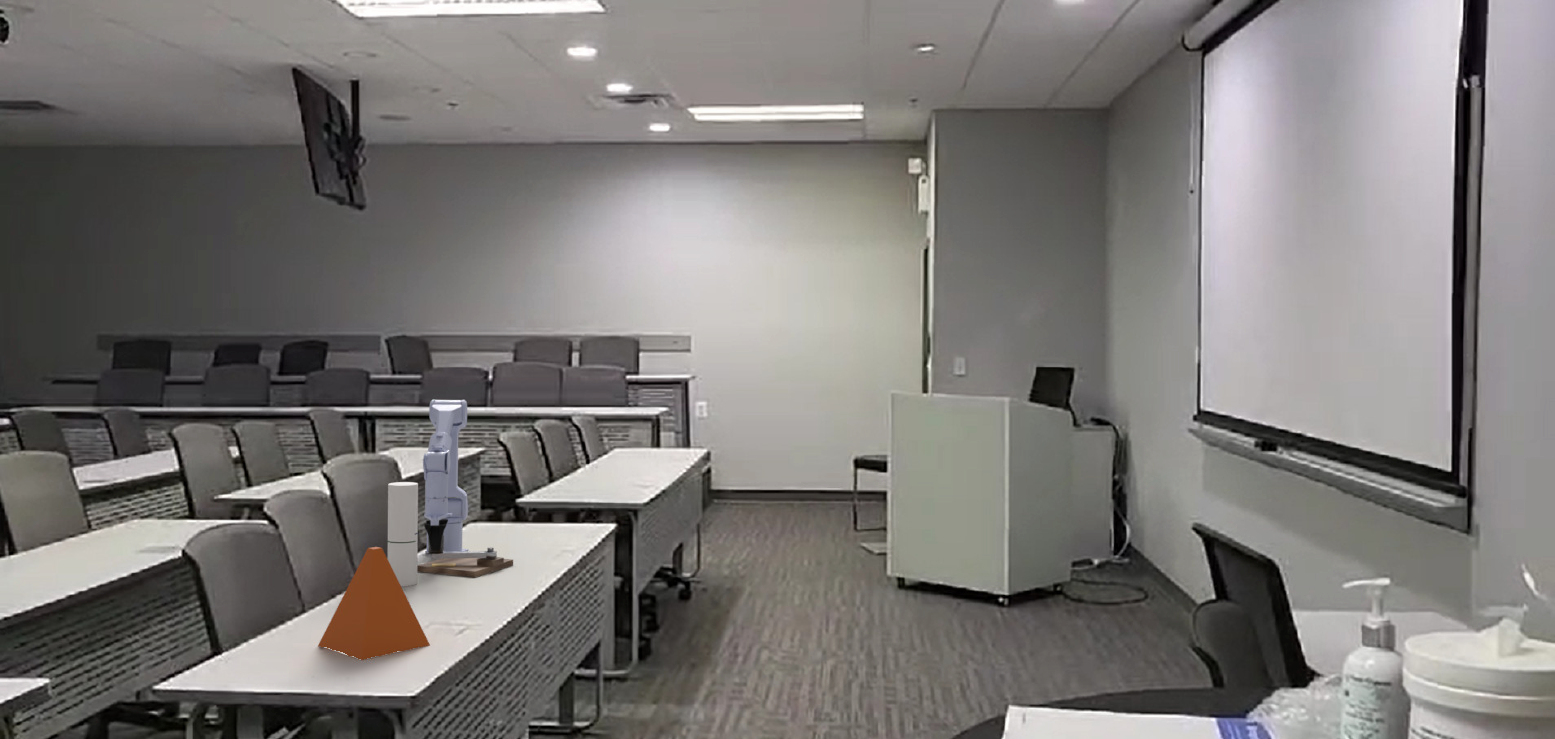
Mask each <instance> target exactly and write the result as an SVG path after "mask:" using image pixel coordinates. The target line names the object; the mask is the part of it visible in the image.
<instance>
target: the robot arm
mask: <svg viewBox="0 0 1555 739" xmlns="http://www.w3.org/2000/svg"><path fill="white" fill-rule="evenodd" d="M428 407H429V408H428V409H429V411H428V412H429V413H428V414H429V420H430V422H431V424H432V426H433V427H434V428H435V433H433V434H432V435H431V436H430V438H429V443H428V448H427V453H424V455H423V458H422V459H423V460H422V468H423V475H424V476H423V479H424V481H425V482H424V484H425V488H424V492H425V493H424V498H425V499H424V500H425V501H424V502H425V503H424V514H423V516H424V519H426V520H425V523H424V525H423V526H424V528H425V531H426V550H425V551H424V553H425V554H429V553H428V537H429V542H430V547H431V551H438V550H440V547H441V541H442V535H444V552H454V551H470V550H469V549H468V548H463V521H466V519H467V518H468V516H469V515H468V513H469V501H468V494H467V492H466V491H465V490H464V489H462V488H461V487H459V486H458V484H459V483H458V482H459V480H458V478H459V477H458V476H459V474H458V473H459V434H460V432H461V430H462V429H465V428H466V427H467V424H468V402H467V400H466V399H432V400H431V401H429V406H428Z"/></svg>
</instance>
